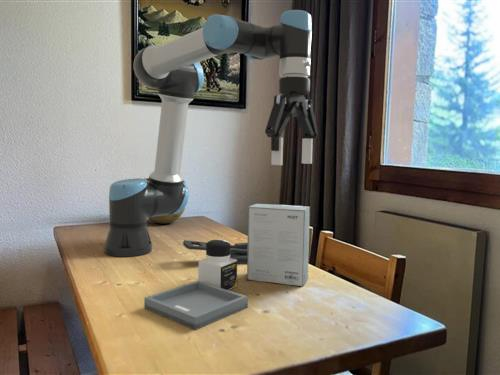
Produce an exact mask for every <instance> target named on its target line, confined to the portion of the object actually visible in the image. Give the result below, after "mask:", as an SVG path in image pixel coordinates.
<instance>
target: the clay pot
mask: <svg viewBox="0 0 500 375" xmlns="http://www.w3.org/2000/svg"><path fill="white" fill-rule="evenodd" d="M143 179H145V180H146V181H147V182H149V177H147V178H145V177H144V178H143ZM183 182H184V183H185V184H186V185H187V183H186V181H185V180H183ZM185 209H186V207H185V208H184V209H183V210H182V211H181V212H179V213H176V214H172V215H162V216H153V217H147V218H148V220H150V221H151V222H153V223H156V224H160V225H161V224H171V223H173V222H175V221H177V220H178V219H179V218H181V216H182V215H183V214H184V211H185Z"/></svg>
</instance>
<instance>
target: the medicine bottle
mask: <svg viewBox="0 0 500 375" xmlns="http://www.w3.org/2000/svg"><path fill="white" fill-rule="evenodd" d="M230 245H231V243H230V242H229V241H228V240H225V239H211V240H208V241H207V243H206V250H205V258H203V259H201V260H198V270H197V271H198V272H197V273H198V277H197V281H200V282H203V283H207V284H210V285H213V286H216V287H219V288H222V289H226V290H229V291H231V290H232V289H234V288H236V287H237V285H238V281H237V280H238V264H237V260H236V259H232V258H230Z"/></svg>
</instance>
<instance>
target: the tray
mask: <svg viewBox="0 0 500 375" xmlns="http://www.w3.org/2000/svg"><path fill="white" fill-rule="evenodd" d="M248 301H249V296H247V295H245V294H241V293H238V292H236V291H232V290H226V289H222V288H219V287H216V286H213V285H210V284H207V283H203V282H200V281H198V280H196V281H193V282H190V283H186V284H183V285H179V286H177V287H174V288H171V289H167V290H164V291H162V292H159V293H155V294H153V295H152V294H151V295H148V296H146V297H145V296H144V309H145V310H147V311H149V312H152V313H153V314H156V315H158V316H161V317H163V318H166V319H167V320H170V321H173V322H176V323H178V324H180V325H182V326H184V327H188V328H189V329H193V330H195V331H196V330H198V329H201V328H203V327H205V326H208V325H210V324H213V323H214V322H217V321H219V320H221V319H224V318H226V317H228V316H231V315H233V314H236V313H238V312H241V311H242V310H245V309H247V308H248V307H249V302H248Z"/></svg>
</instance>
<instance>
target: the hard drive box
mask: <svg viewBox="0 0 500 375" xmlns="http://www.w3.org/2000/svg"><path fill="white" fill-rule="evenodd" d="M310 208H311V206H304V205H289V204H269V203H254V204H252V205H249V206H248V207H247V243H248V250H247V265H246V266H247V268H246V271H247V273H246V279H247V280H249V281H250V280H251V281H256V282H257V281H258V282H263V283H264V282H265V283H267V282H268V283H275V284H282V285H288V286H298V287H303V286H304V285H305V284H306V282H307V280H308V279H309V249H310V245H309V244H310V217H311V213H310Z"/></svg>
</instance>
